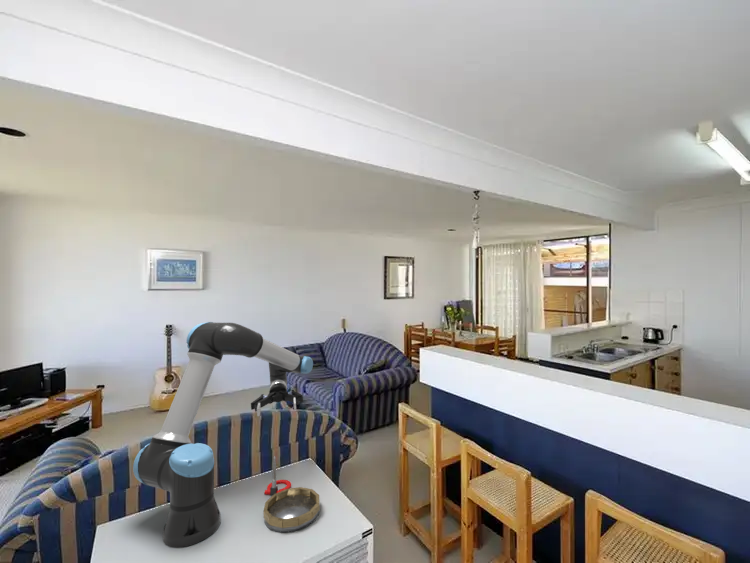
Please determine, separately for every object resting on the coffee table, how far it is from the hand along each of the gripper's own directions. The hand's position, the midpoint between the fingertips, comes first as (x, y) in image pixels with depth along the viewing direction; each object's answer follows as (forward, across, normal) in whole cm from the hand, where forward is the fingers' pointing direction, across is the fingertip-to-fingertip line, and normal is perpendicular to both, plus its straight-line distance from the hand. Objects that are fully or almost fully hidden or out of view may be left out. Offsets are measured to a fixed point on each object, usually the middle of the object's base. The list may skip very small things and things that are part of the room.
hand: (276, 409), depth 129 cm
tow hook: (+8, +1, -26) cm, 27 cm away
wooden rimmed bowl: (+25, -4, -24) cm, 35 cm away
